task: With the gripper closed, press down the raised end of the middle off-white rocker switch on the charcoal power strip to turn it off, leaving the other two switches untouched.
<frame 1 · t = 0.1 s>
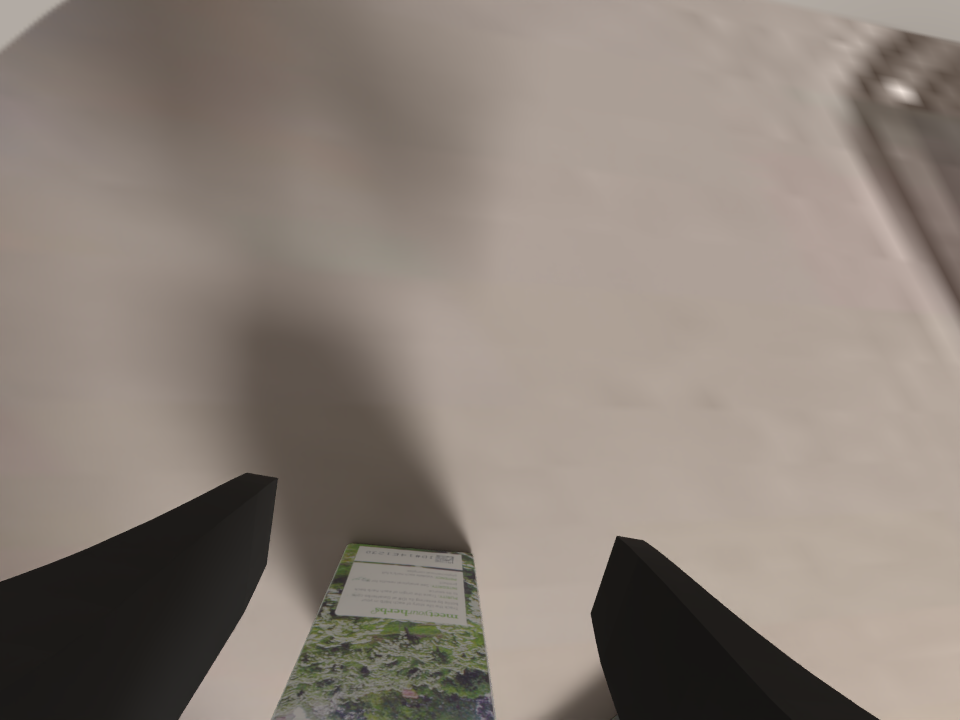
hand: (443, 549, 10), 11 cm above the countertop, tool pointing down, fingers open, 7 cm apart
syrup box: (405, 600, 21), on the countertop
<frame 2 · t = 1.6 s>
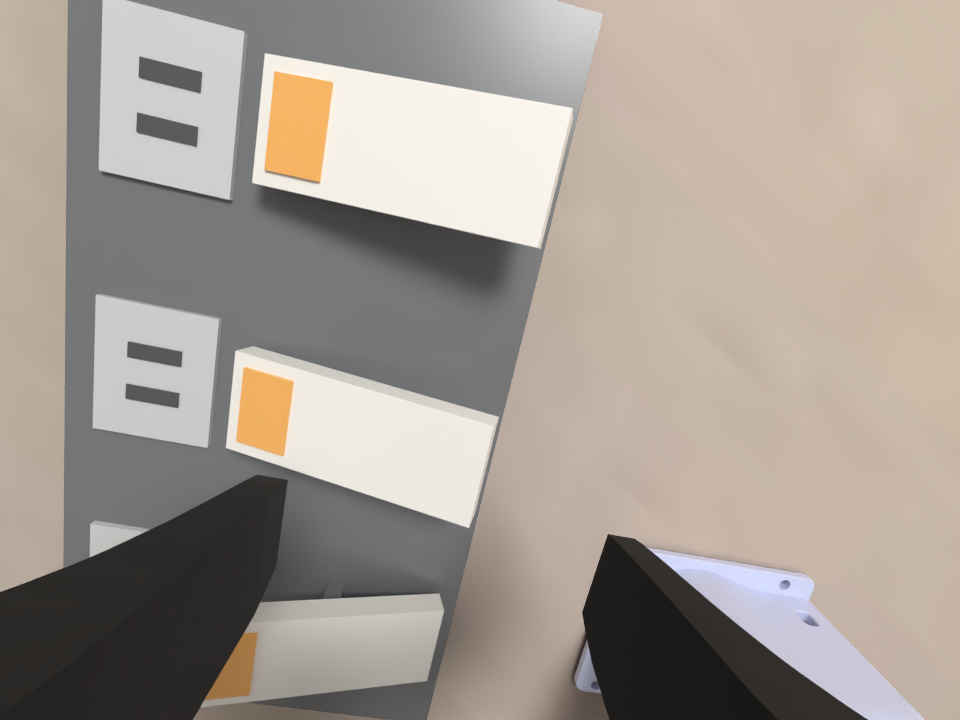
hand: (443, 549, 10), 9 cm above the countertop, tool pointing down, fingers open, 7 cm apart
rocker middle: (355, 433, 14), point 5 cm above the countertop, hinge at 15.0°
rocker b: (319, 647, 16), point 5 cm above the countertop, hinge at -15.0°
rocker a: (403, 151, 12), point 5 cm above the countertop, hinge at 15.0°
power strip: (317, 372, 18), on the countertop
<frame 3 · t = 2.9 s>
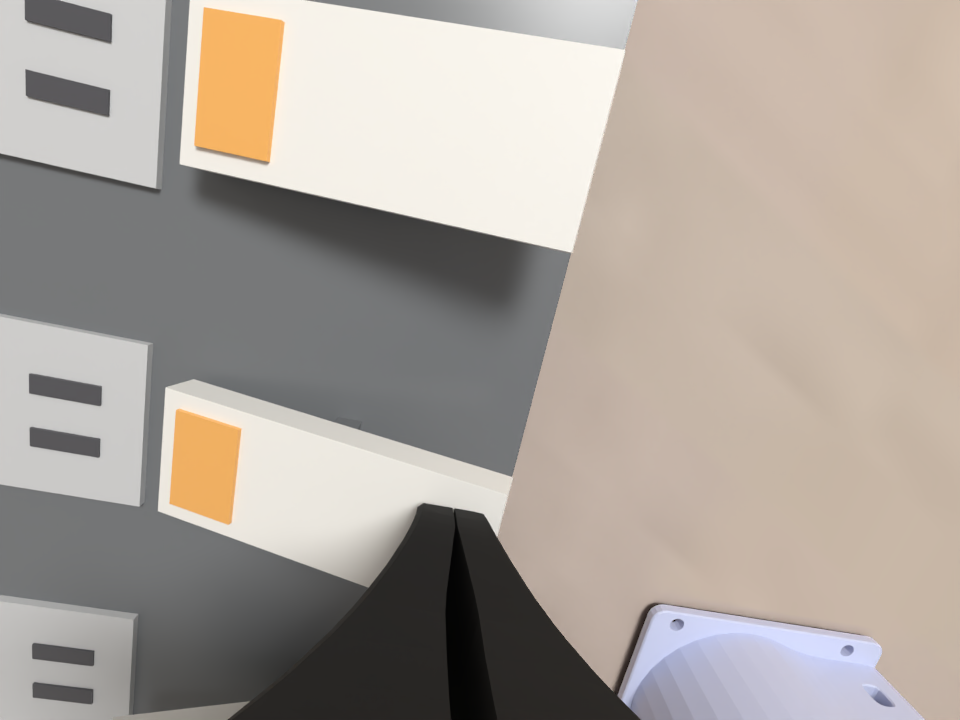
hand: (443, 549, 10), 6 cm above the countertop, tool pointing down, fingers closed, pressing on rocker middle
rocker middle: (324, 496, 11), point 5 cm above the countertop, hinge at 15.0°, touching gripper
rocker a: (383, 119, 9), point 5 cm above the countertop, hinge at 15.0°
power strip: (287, 403, 15), on the countertop
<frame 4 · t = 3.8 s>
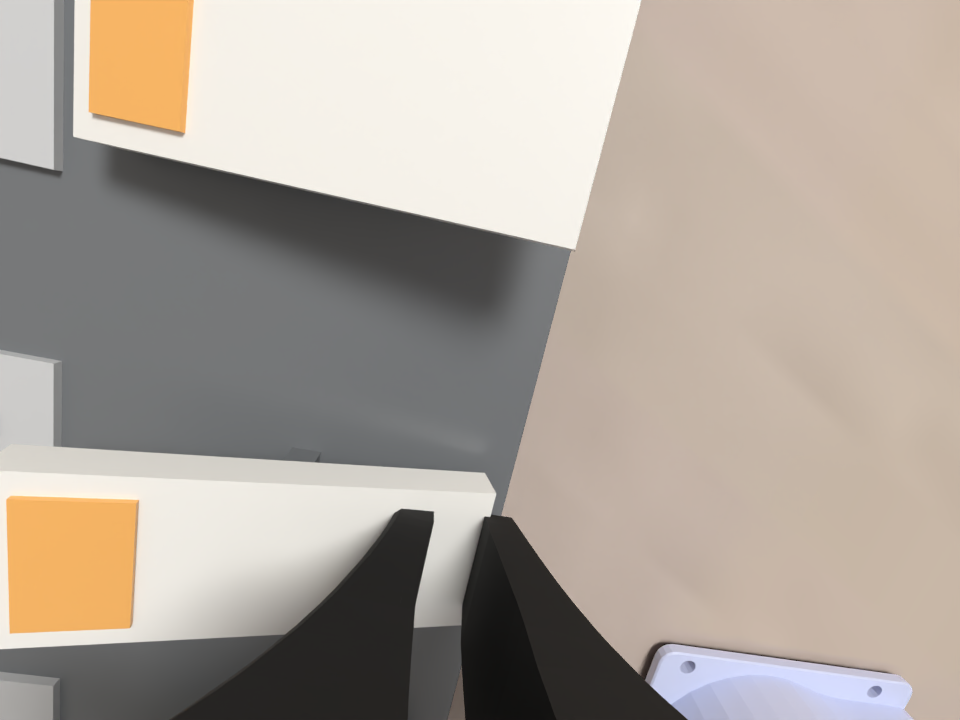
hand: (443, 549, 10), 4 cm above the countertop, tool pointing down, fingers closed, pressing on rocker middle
rocker middle: (270, 550, 9), point 5 cm above the countertop, hinge at -12.8°, touching gripper
rocker a: (330, 77, 7), point 5 cm above the countertop, hinge at 15.0°
power strip: (242, 425, 13), on the countertop
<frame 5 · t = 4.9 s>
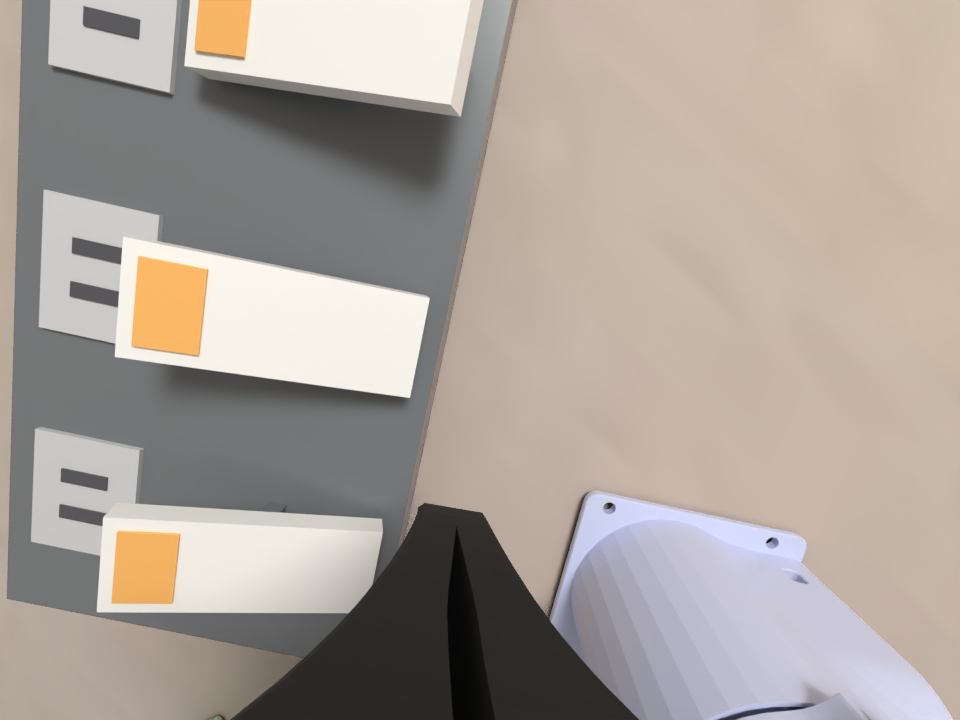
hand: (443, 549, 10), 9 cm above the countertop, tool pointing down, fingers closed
rocker middle: (283, 323, 14), point 5 cm above the countertop, hinge at -14.5°
rocker b: (250, 562, 15), point 5 cm above the countertop, hinge at -15.0°
rocker a: (324, 23, 12), point 5 cm above the countertop, hinge at 15.0°
power strip: (272, 295, 18), on the countertop
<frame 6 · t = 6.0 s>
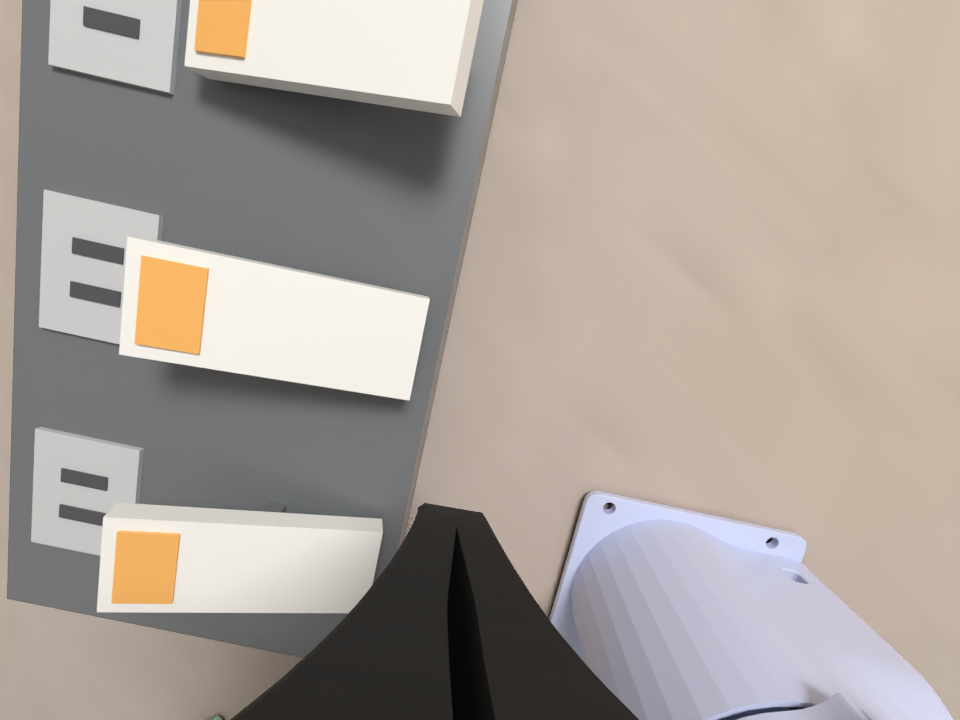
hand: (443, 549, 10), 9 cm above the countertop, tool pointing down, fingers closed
rocker middle: (283, 323, 14), point 5 cm above the countertop, hinge at -10.7°
rocker b: (250, 562, 15), point 5 cm above the countertop, hinge at -15.0°
rocker a: (324, 23, 12), point 5 cm above the countertop, hinge at 15.0°
power strip: (272, 295, 18), on the countertop
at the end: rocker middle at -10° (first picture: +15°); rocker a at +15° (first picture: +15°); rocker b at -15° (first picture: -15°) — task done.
